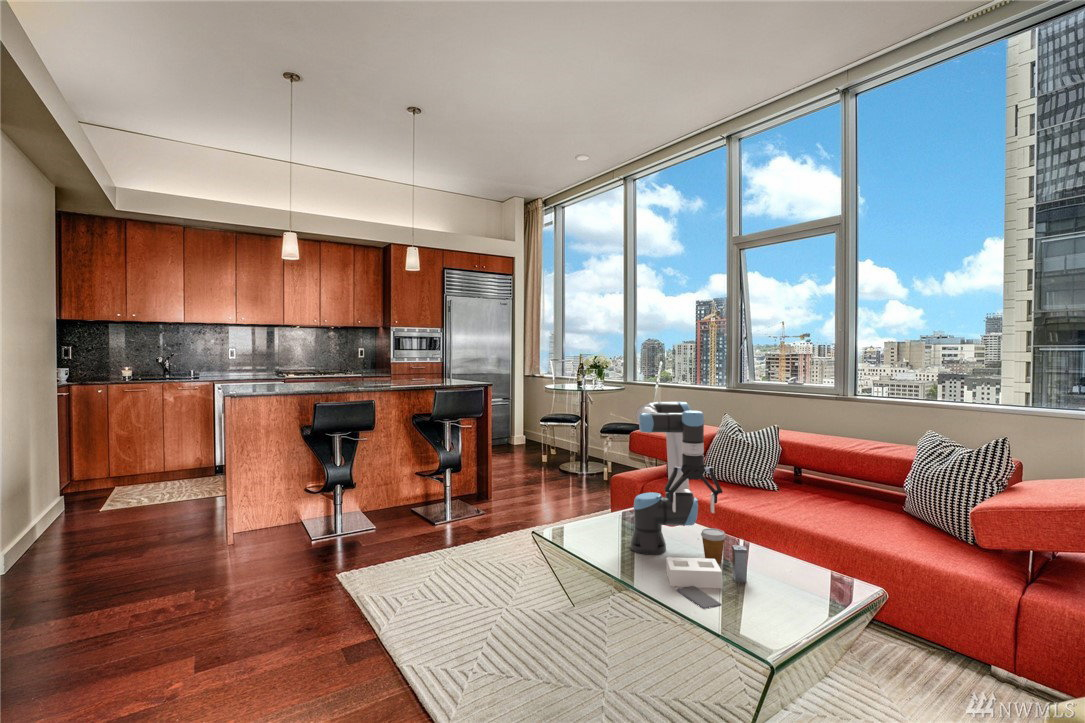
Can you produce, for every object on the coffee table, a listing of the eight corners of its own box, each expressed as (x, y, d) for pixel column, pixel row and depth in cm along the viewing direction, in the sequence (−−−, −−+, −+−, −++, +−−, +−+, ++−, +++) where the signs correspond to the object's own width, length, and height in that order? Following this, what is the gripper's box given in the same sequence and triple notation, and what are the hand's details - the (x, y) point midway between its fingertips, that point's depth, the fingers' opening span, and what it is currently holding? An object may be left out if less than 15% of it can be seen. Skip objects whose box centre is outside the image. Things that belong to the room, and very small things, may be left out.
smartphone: (703, 608, 170) (675, 588, 184) (703, 611, 170) (675, 591, 184) (722, 603, 173) (693, 585, 186) (722, 606, 173) (693, 587, 187)
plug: (732, 577, 194) (731, 545, 194) (744, 577, 194) (743, 545, 194) (734, 582, 190) (734, 549, 190) (747, 582, 189) (747, 549, 189)
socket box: (666, 572, 199) (666, 556, 199) (714, 574, 197) (714, 558, 197) (670, 586, 187) (670, 569, 187) (722, 588, 185) (721, 571, 185)
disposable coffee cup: (727, 566, 204) (727, 536, 204) (702, 565, 206) (702, 535, 206) (724, 557, 213) (723, 528, 213) (699, 556, 215) (699, 527, 215)
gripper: (658, 455, 186) (659, 514, 187) (731, 456, 183) (731, 515, 184) (656, 451, 193) (657, 507, 194) (726, 451, 190) (726, 509, 191)
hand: (693, 511), depth 189 cm, fingers open, 13 cm apart
